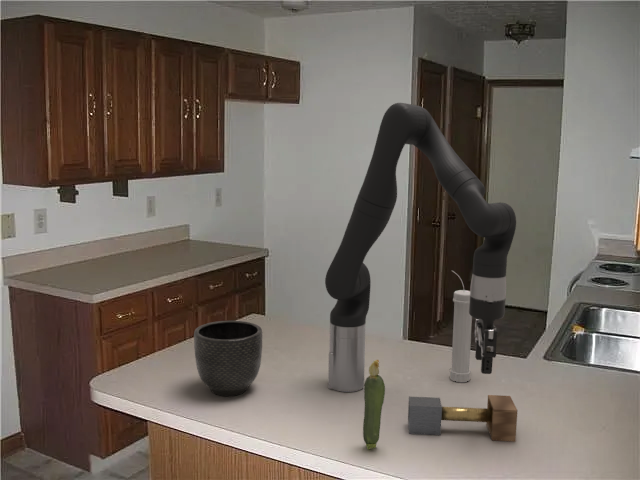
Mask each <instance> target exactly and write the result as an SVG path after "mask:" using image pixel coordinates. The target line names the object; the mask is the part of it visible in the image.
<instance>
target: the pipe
mask: <svg viewBox="0 0 640 480" xmlns="http://www.w3.org/2000/svg"><path fill="white" fill-rule="evenodd" d="M451 272H452V273H454V274H455V275H456V276H458V279H459V280H460V281H461V284H462V287H463V289H459V290H455V291H454V292H453V298H452V302H453V303H454V304H453V306H454V308H453V327H452V328H453V329H452V331H453V332H452V348H451V351H452V352H451V367H450V369H449V378H450V380H451V381H453V382H455V381H456V382H455V383H467V381H468V382H469V381H470V380H471V373H472V372H471V369H470V361H471V360H470V359H471V345H472V344H471V342H472V324H473V323H472V321H473V317H472V316H471V315H470V314H469V304H470V290H466V289H465V286H464V283H463V280H462V278H461V276H460V275H459V274H458V273H456V272H455V271H454V270H451Z"/></svg>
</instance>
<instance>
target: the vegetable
mask: <svg viewBox="0 0 640 480" xmlns="http://www.w3.org/2000/svg"><path fill="white" fill-rule="evenodd" d="M380 363H381V362H380V361H379V359H375V360H373V362H371V364H370V365H369V368H368V373H369V376H367V378H366V379H365V380H364V387H363V392H364V393H363V394H364V396H363V398H364V412H363V413H364V414H363V416H364V417H363V421H362V422H363V424H362V437H363V442H364V443H365V446H366V448H367V450H370V449H371V450H372V449H376V448H377V443H378V442H379V439H380V432H381V431H380V430H381V419H382V409H383V404H384V401H385V395H386V386H385V383H384V379H383V378H382V376H380V369H379V368H380V366H379V365H380Z"/></svg>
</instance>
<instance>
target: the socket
mask: <svg viewBox="0 0 640 480" xmlns="http://www.w3.org/2000/svg"><path fill="white" fill-rule="evenodd" d="M486 407H487V409H493V415H492V423H490V422H485V423H486V424H485V425H486V428H487V430H488V433H489V435H490V439H491V441H493V442H494V441H496V442H497V441H498V442H515V443H516V441H517V440H516V437H517V424H518V423H517V421H518V409H517V407H516V405H515V403H514V400H513V398H512V396H510V395H501V394H500V395H497V394H496V395H495V394H488V395H487V406H486Z"/></svg>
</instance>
